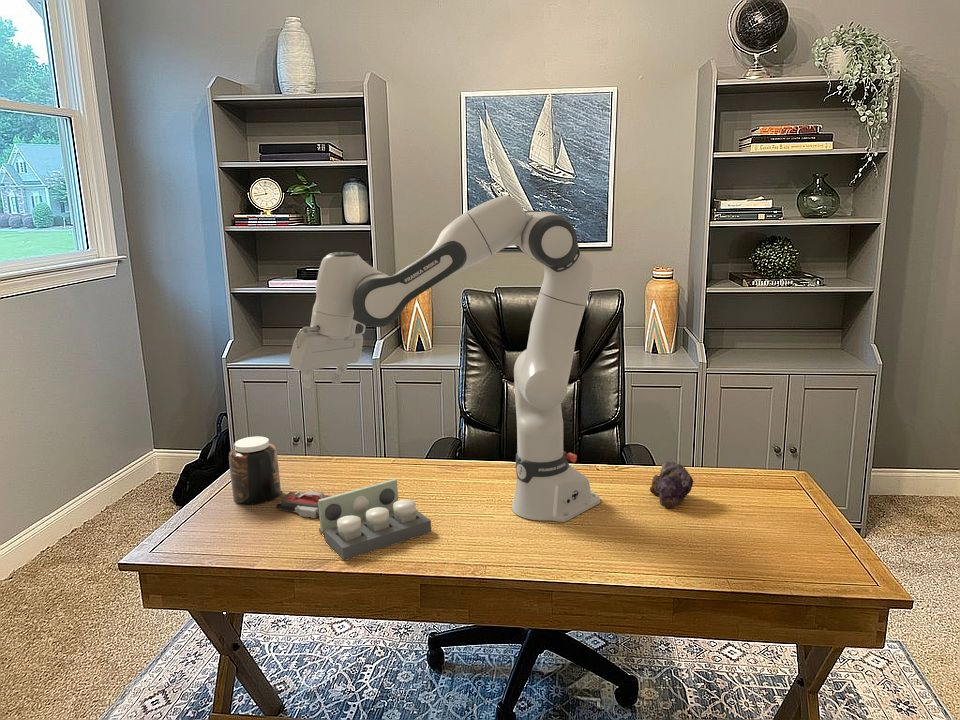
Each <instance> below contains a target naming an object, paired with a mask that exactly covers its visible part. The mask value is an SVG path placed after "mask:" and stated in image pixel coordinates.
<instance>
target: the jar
mask: <svg viewBox="0 0 960 720" xmlns="http://www.w3.org/2000/svg"><path fill="white" fill-rule="evenodd" d="M228 461H229V463H228V464H229V473H230V483H231V490H232V498H233V501H234V502H235V503H237V504H240V505H249V506H250V505H260V504H264V503H265V504H266V503H268V502H271V501H273V500H275V499H277V498H278V497H279V496H280V495H281V491H282V489H281V478H280V470H279V460H278V452H277V447H276V445H274V444H273V443H270V439H269V438H268V437H265V436H258V435H255V436H247V437H244V438H241V439H238V440H236V441H235V442H234V447H233V448H232V449H231V450H230V451H229V453H228Z"/></svg>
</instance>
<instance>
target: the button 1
mask: <svg viewBox="0 0 960 720" xmlns="http://www.w3.org/2000/svg"><path fill="white" fill-rule="evenodd" d="M337 527H338V532H339V537H340V538H341V539H342V540H343V541H344V542H345V541H348V540H351V539H354V538H358V537H361V519H360V517H358V516H353V515H350V516H344V517H341V518H340V519H338V520H337Z"/></svg>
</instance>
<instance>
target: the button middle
mask: <svg viewBox="0 0 960 720" xmlns="http://www.w3.org/2000/svg"><path fill="white" fill-rule="evenodd" d="M366 522H367V528H368V529H369V530H371V531H372V532H373V533H374V532H377V531H380V530H383V529H386V528H389V510H388V509H386V508H383V507H376V508H371V509H369V510H367V511H366Z"/></svg>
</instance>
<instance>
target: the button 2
mask: <svg viewBox="0 0 960 720" xmlns="http://www.w3.org/2000/svg"><path fill="white" fill-rule="evenodd" d="M416 505H417V504H416V501H415V500H412V499H398V501H396V502H395V503H394V504H393V511H394V519H395V520H396V521H397V522H399V523H400V524H402V523H406V522H409V521H412V520H415V519H416V510H417V507H416Z"/></svg>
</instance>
